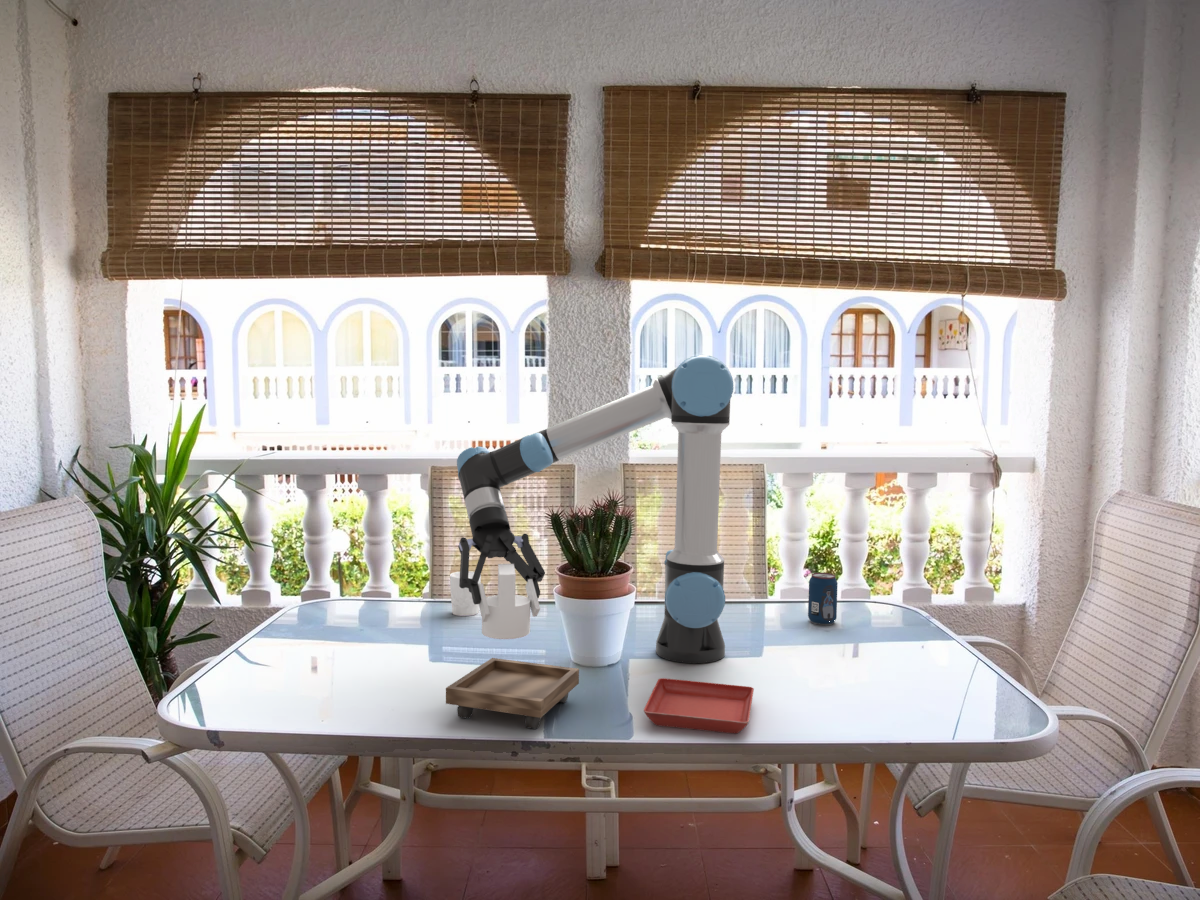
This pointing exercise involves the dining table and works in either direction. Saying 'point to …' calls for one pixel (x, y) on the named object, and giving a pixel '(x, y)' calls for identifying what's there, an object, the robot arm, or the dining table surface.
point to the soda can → (822, 599)
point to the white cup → (462, 596)
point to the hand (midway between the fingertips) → (511, 615)
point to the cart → (513, 689)
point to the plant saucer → (699, 705)
